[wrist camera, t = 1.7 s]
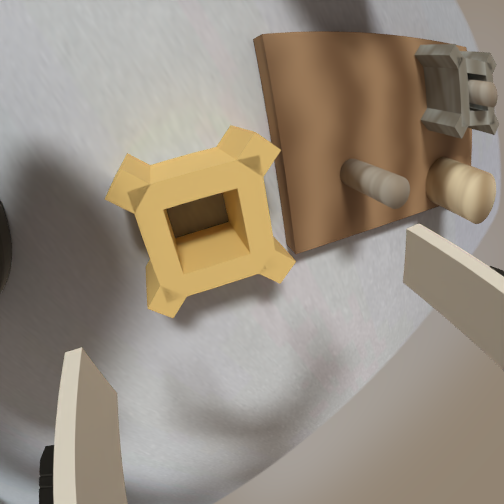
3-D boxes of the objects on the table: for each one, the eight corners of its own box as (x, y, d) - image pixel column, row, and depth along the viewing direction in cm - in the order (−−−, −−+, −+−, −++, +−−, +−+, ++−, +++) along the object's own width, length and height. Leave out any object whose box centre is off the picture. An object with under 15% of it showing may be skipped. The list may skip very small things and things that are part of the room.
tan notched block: (151, 280, 27) (154, 323, 21) (109, 159, 21) (97, 176, 16) (269, 243, 29) (297, 277, 23) (248, 121, 23) (277, 127, 18)
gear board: (286, 244, 29) (330, 291, 22) (253, 39, 20) (299, 15, 13) (457, 190, 34) (506, 213, 27) (453, 47, 25) (509, 50, 18)
